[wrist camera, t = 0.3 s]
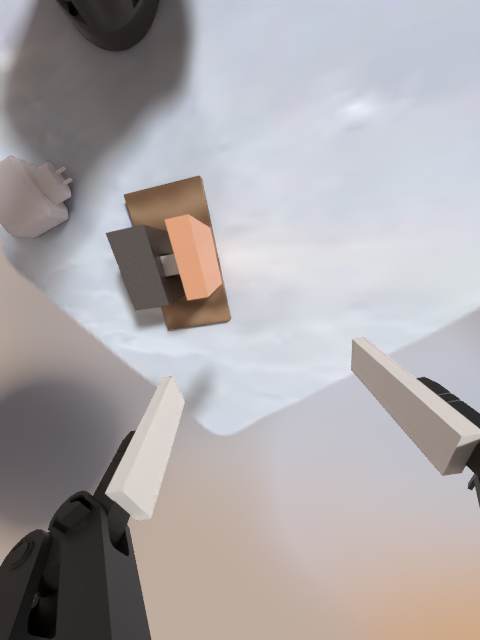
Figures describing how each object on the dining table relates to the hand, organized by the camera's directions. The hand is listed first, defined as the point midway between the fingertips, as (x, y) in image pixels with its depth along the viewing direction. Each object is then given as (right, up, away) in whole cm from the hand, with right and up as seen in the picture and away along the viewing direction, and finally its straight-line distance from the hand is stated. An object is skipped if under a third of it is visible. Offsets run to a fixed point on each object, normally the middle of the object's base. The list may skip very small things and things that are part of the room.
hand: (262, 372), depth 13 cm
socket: (-17, +14, +22) cm, 31 cm away
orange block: (-10, +15, +21) cm, 28 cm away
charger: (-38, +27, +21) cm, 51 cm away
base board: (-13, +15, +23) cm, 31 cm away
